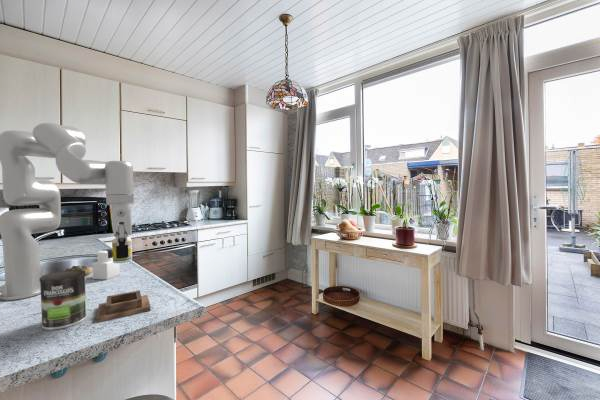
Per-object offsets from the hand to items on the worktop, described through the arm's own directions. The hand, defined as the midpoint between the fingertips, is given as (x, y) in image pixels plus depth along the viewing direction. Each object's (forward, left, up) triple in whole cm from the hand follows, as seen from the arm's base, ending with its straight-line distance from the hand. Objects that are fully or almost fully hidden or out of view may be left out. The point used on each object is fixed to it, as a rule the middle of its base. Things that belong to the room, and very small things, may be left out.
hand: (122, 255), depth 90 cm
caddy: (0, 0, -18) cm, 18 cm away
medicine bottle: (-6, +43, -18) cm, 47 cm away
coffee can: (-15, 0, -18) cm, 23 cm away
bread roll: (-17, +54, -18) cm, 59 cm away
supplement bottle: (0, 0, -2) cm, 2 cm away
